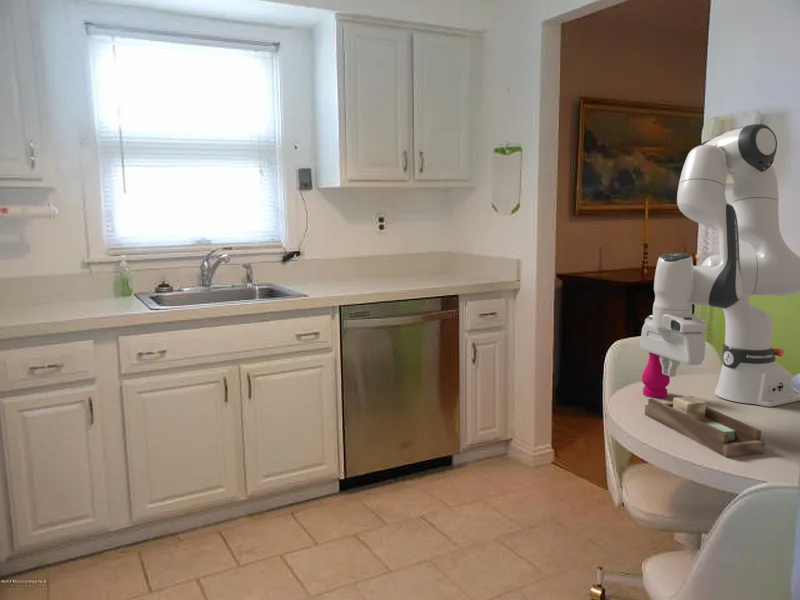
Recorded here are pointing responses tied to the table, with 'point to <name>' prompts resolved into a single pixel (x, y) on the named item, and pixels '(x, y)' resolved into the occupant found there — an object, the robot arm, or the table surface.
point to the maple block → (690, 406)
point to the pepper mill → (654, 378)
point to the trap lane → (709, 429)
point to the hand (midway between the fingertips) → (668, 375)
